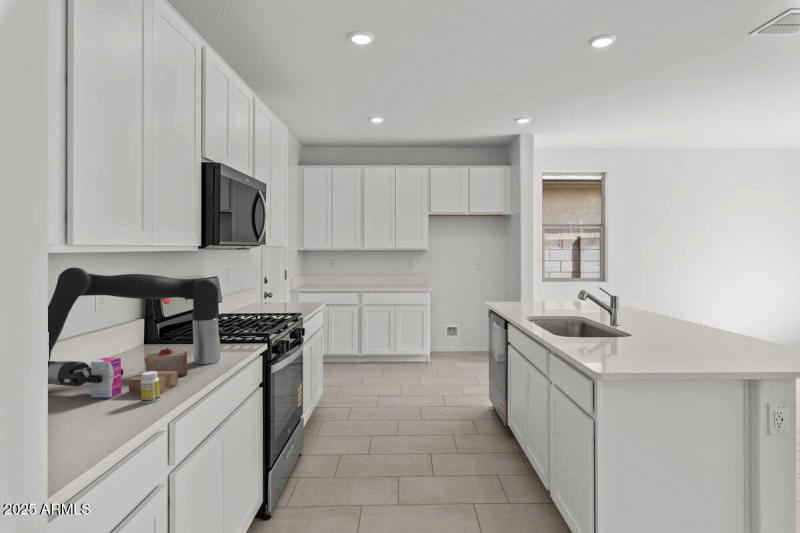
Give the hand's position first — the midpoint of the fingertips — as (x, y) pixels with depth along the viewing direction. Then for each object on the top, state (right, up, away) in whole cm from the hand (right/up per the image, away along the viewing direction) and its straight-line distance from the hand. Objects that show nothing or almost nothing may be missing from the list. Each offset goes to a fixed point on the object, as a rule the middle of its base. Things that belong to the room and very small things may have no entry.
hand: (112, 375), depth 138 cm
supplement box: (-2, -7, +1) cm, 7 cm away
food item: (+5, -6, +23) cm, 24 cm away
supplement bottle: (+14, -7, -4) cm, 16 cm away
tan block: (+10, -6, +6) cm, 13 cm away
